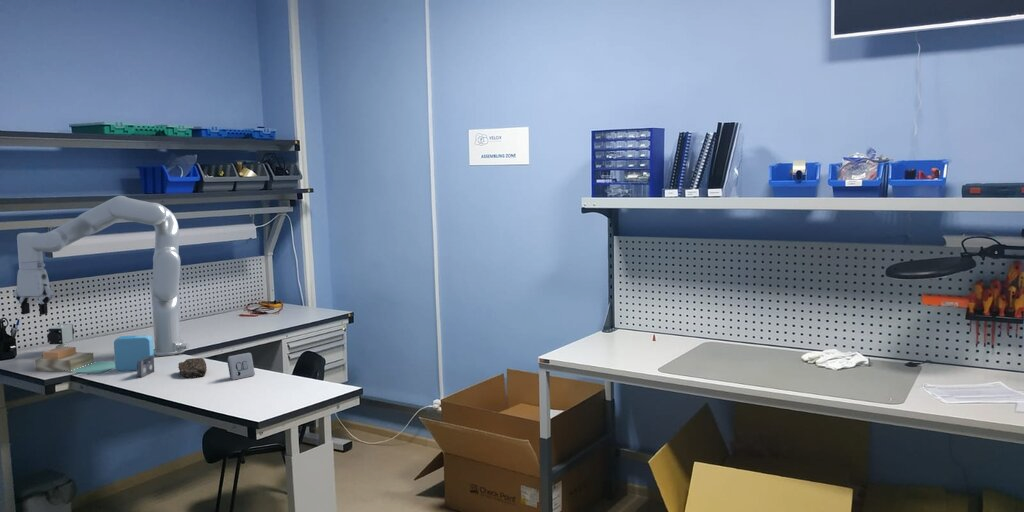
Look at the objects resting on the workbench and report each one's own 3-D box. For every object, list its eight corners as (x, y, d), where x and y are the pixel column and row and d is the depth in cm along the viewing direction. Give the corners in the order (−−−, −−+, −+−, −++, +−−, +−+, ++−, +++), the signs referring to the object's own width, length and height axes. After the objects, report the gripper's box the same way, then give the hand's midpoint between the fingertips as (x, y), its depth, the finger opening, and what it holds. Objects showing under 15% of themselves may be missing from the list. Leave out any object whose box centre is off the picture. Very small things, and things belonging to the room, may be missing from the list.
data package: (154, 366, 271) (152, 334, 270) (150, 369, 266) (149, 337, 265) (119, 368, 269) (117, 336, 267) (115, 371, 264) (113, 338, 263)
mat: (127, 363, 276) (126, 362, 276) (99, 373, 261) (99, 372, 261) (97, 362, 278) (97, 361, 278) (69, 372, 263) (69, 371, 263)
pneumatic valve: (76, 349, 298) (74, 320, 297) (60, 356, 287) (58, 326, 285) (62, 350, 298) (60, 321, 297) (46, 357, 286) (43, 326, 285)
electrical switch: (232, 380, 251) (230, 356, 251) (226, 379, 255) (224, 356, 254) (255, 376, 258) (253, 352, 257) (249, 374, 261) (247, 352, 260)
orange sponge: (75, 353, 275) (75, 346, 275) (58, 359, 266) (57, 352, 266) (61, 352, 276) (60, 346, 276) (43, 358, 267) (42, 352, 267)
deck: (93, 363, 276) (93, 352, 276) (70, 371, 264) (70, 360, 264) (60, 362, 278) (59, 351, 278) (35, 370, 266) (35, 359, 266)
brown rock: (180, 371, 264) (180, 357, 264) (210, 369, 267) (210, 356, 266) (174, 379, 253) (173, 365, 253) (205, 377, 256) (204, 363, 255)
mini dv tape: (150, 371, 264) (149, 355, 263) (154, 371, 264) (153, 355, 263) (137, 378, 256) (136, 361, 255) (141, 378, 255) (140, 361, 255)
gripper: (60, 265, 271) (63, 312, 273) (18, 264, 274) (21, 311, 275) (44, 267, 264) (48, 316, 266) (1, 267, 266) (5, 315, 268)
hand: (34, 313), depth 271 cm, fingers open, 6 cm apart
